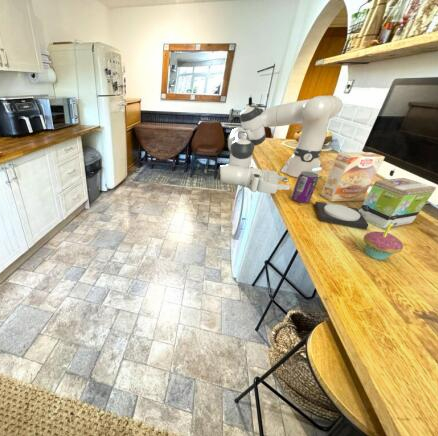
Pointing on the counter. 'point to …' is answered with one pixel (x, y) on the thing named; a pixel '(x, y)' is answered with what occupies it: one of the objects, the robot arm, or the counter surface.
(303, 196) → the beverage can
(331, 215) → the scale
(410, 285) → the counter surface
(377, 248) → the cupcake
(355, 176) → the coffeecake box
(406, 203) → the tea box
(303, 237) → the counter surface
